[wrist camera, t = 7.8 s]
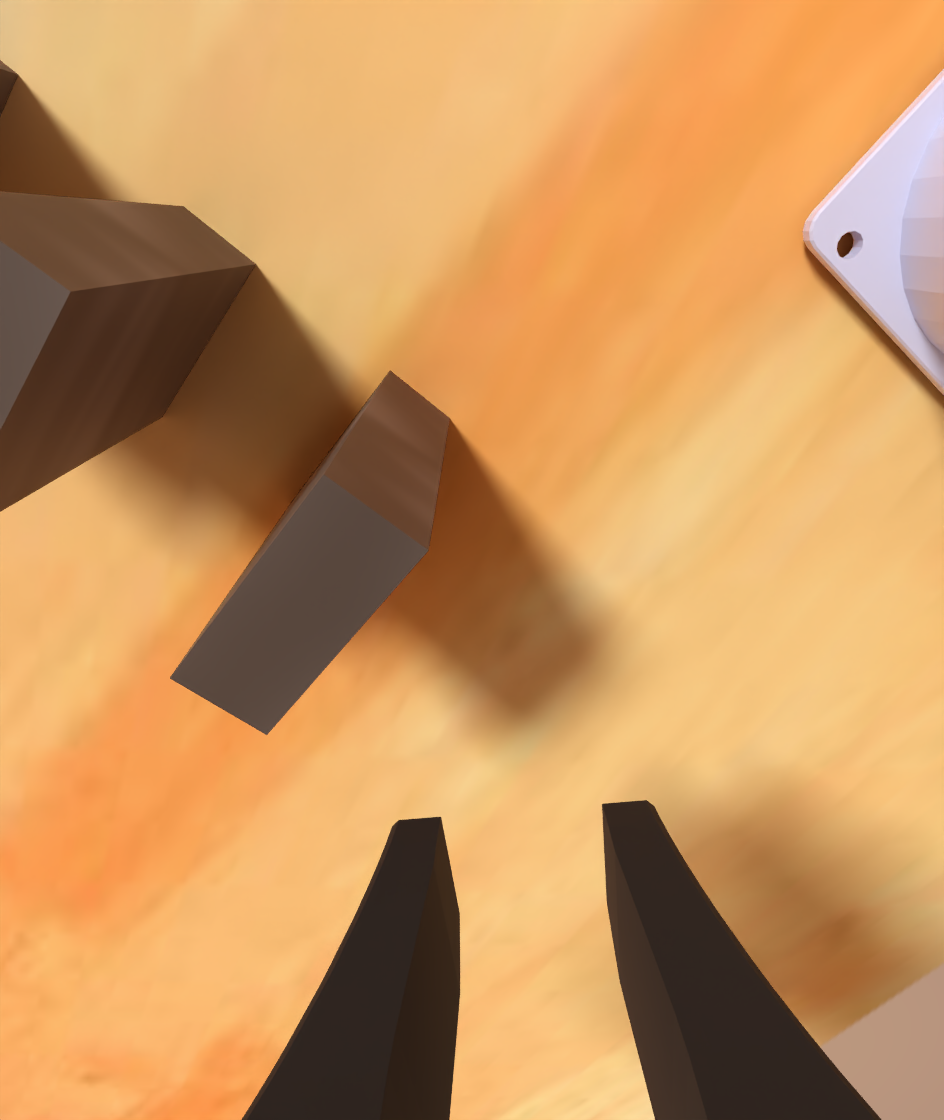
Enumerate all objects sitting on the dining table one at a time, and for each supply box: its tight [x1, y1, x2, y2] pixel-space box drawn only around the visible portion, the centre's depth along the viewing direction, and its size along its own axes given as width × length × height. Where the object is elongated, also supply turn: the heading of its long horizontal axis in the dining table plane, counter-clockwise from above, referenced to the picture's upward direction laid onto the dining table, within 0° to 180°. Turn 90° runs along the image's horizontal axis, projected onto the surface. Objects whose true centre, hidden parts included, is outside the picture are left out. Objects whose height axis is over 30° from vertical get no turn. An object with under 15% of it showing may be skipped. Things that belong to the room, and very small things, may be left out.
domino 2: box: [170, 371, 450, 735], centre depth 14 cm, size 2×4×8 cm, turn 141°
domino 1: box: [0, 191, 256, 511], centre depth 12 cm, size 2×4×8 cm, turn 141°
